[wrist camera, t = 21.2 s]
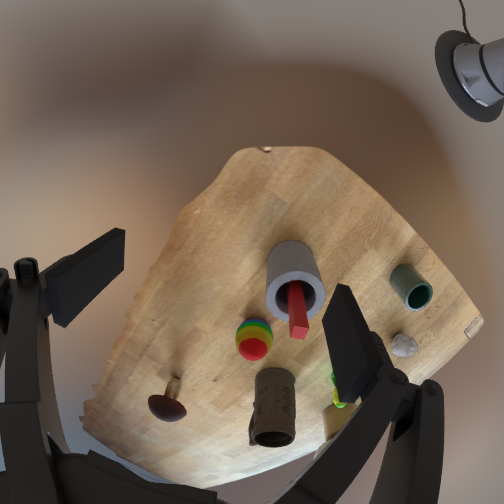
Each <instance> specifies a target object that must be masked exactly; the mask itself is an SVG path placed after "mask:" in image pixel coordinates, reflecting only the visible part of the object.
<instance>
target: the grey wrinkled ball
mask: <svg viewBox="0 0 504 504" xmlns="http://www.w3.org/2000/svg"><path fill="white" fill-rule="evenodd" d="M417 348H418V344H417V342H416V341H415V339H414V338H412V337H411V338H410V336H409V335H406V334H403V333H401V334H397V335H396V336H395V337H394V338H393V340H392V352H393V354H394V355H397V356H400V357H411V356H412V355H413V353H414V352H415V351H416V350H417Z"/></svg>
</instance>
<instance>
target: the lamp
mask: <svg viewBox="0 0 504 504" xmlns="http://www.w3.org/2000/svg"><path fill="white" fill-rule="evenodd" d="M356 408H357V407H356V405H355V404H353V403H347V404H346V405H345V406H344V407H342V408H339V407H337V406H336V404H333V405H331V406H329V407H328V408H326V409H325V410H324V412H323V422H324V430H325V440H326V442H325V443H323V444H322V445H321V446H320V447H319V448H318V450H317V451H316V453H315V456H314V458H315V457H316V456H317V455H318V454H319V453H320V452H321V451H322V450H323V449H324V448H325V446H326V445H327V444H328V443H329V442H330V441H331V440H332V438H333V437H334V436H335V435H336V434H337V433H338V431H339V430H340V429H341V428H342V427H343V425H344V424H345V423H346V422H347V420H348V419H349V418H350V417H351V414H352V413H353V412H354V411H355V410H356Z"/></svg>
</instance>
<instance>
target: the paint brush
mask: <svg viewBox="0 0 504 504" xmlns="http://www.w3.org/2000/svg"><path fill="white" fill-rule="evenodd" d="M286 286H287V299H288V313H289V328H290V337H293V338H298V339H303V340H304V339H305V337H306V335H307V332H308V330H309V324H308V318H307V312H306V306H305V301H304V295H303V289H302V284H301V280H291V281H288V282H286Z"/></svg>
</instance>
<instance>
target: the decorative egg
mask: <svg viewBox="0 0 504 504" xmlns="http://www.w3.org/2000/svg"><path fill="white" fill-rule="evenodd" d="M272 343H273V334H272V330H271V328H270V327H269V325H268V324H267V323H266V322H265V321H263V320H261V319H255V318H254V319H249V320H246V321H245V322H243V323H242V324H241V325H240V327H239V328H238V330H237V333H236V346H237V349H238V351H239V353H240V354H241V355H242V356H243V357H244V358H245V359H247V360H250V361H256V360H259V359H262V358H263V357H264V356H266V355H267V353H268V352H269V351H270V349H271V346H272Z"/></svg>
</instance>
